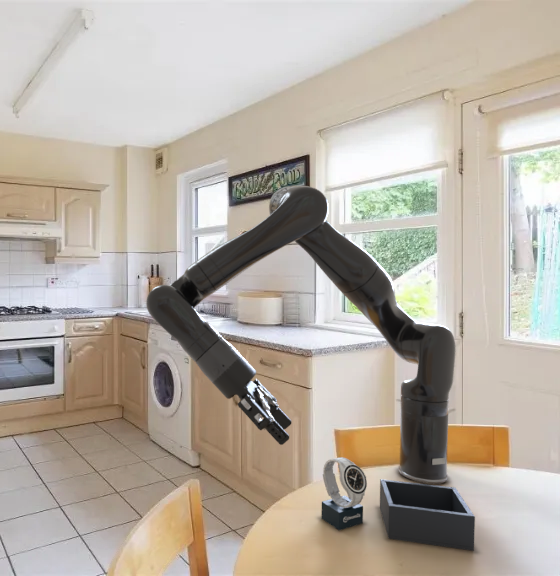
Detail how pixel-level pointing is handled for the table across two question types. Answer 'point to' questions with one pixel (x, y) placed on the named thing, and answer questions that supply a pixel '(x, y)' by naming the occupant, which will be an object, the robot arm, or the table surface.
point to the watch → (342, 508)
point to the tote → (426, 514)
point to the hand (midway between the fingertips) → (287, 433)
